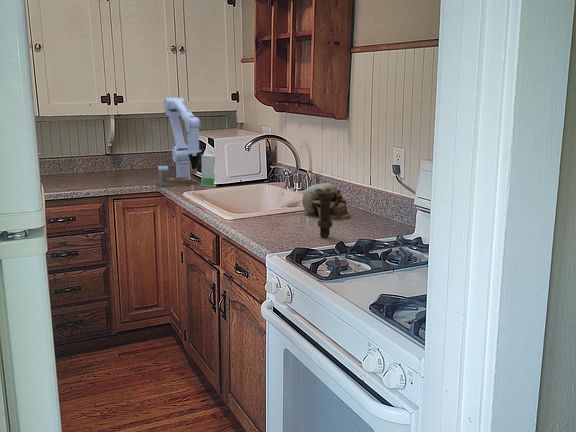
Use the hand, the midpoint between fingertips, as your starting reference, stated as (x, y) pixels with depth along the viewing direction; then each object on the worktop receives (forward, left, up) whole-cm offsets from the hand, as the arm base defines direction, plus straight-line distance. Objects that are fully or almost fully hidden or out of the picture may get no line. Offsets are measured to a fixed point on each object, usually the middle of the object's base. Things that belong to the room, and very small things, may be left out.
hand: (194, 168), depth 305 cm
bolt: (+123, +35, -8) cm, 128 cm away
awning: (+4, -15, -8) cm, 17 cm away
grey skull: (+90, +45, -8) cm, 101 cm away
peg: (0, 0, -3) cm, 2 cm away
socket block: (+4, -9, -8) cm, 13 cm away
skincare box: (+11, +8, -8) cm, 15 cm away
